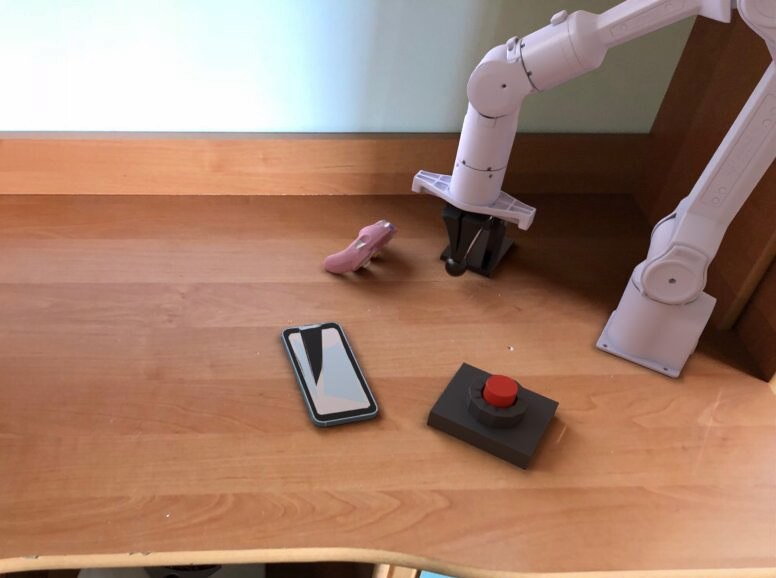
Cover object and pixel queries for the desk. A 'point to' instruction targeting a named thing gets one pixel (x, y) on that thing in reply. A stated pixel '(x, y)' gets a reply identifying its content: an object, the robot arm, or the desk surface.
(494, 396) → the button
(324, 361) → the smartphone
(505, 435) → the button box
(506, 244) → the bracket
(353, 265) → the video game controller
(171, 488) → the desk surface
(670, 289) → the robot arm
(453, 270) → the press lever
